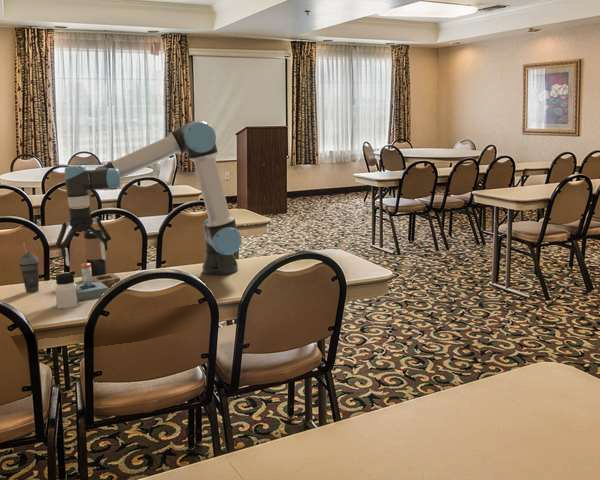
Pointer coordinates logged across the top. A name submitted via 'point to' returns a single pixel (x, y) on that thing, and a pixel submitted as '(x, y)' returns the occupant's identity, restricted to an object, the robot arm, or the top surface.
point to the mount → (106, 279)
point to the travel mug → (94, 253)
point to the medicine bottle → (66, 291)
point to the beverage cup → (30, 271)
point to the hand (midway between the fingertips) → (86, 262)
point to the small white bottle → (86, 275)
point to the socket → (91, 291)
